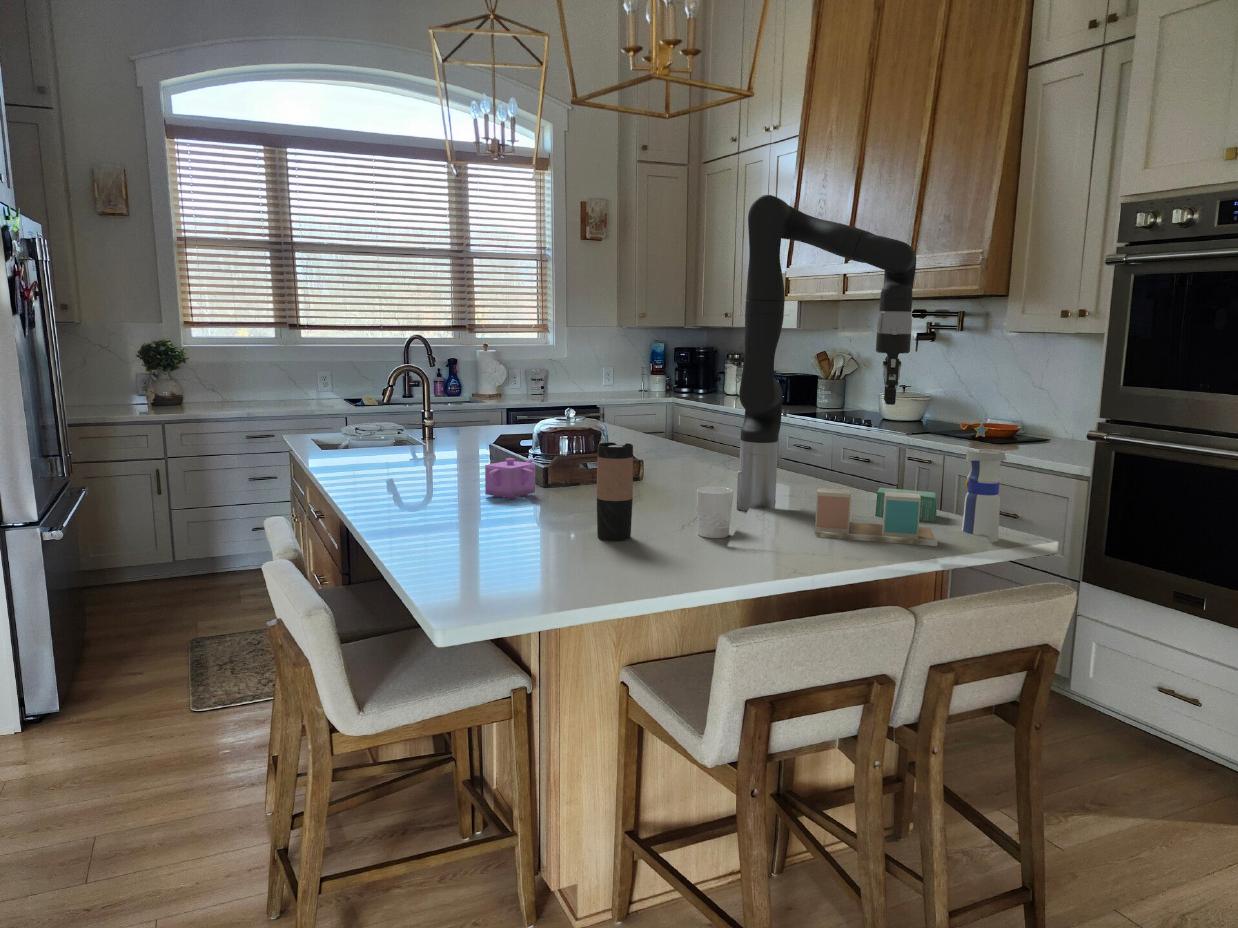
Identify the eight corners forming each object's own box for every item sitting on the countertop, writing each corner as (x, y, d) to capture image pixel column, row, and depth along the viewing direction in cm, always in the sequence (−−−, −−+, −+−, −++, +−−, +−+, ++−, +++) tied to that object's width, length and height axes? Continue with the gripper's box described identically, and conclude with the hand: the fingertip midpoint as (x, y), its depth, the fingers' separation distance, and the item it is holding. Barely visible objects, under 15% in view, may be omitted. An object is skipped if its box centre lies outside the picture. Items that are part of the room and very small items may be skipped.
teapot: (515, 488, 240) (514, 452, 238) (555, 494, 232) (555, 456, 231) (470, 498, 225) (470, 460, 223) (512, 505, 217) (512, 465, 216)
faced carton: (814, 533, 186) (817, 491, 184) (815, 527, 191) (818, 487, 189) (848, 535, 184) (851, 494, 183) (848, 530, 189) (851, 489, 187)
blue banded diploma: (949, 535, 192) (957, 423, 188) (978, 532, 196) (987, 422, 192) (977, 543, 185) (987, 427, 181) (1007, 540, 188) (1017, 426, 184)
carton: (882, 538, 182) (885, 496, 181) (882, 532, 187) (884, 491, 186) (917, 540, 181) (920, 498, 179) (916, 535, 185) (919, 493, 184)
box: (935, 528, 200) (937, 496, 198) (874, 522, 204) (876, 491, 203) (935, 521, 206) (937, 491, 205) (876, 517, 211) (878, 486, 210)
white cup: (734, 532, 192) (736, 488, 190) (727, 540, 184) (728, 494, 183) (700, 529, 194) (701, 485, 193) (691, 537, 187) (692, 491, 185)
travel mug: (606, 542, 181) (607, 447, 177) (590, 534, 187) (591, 443, 184) (638, 539, 184) (640, 446, 181) (621, 531, 191) (623, 441, 188)
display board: (816, 543, 183) (816, 532, 182) (819, 526, 199) (819, 515, 199) (936, 553, 177) (937, 541, 176) (929, 534, 193) (930, 523, 192)
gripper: (876, 331, 206) (871, 400, 208) (877, 331, 192) (873, 405, 195) (909, 332, 204) (904, 401, 206) (913, 332, 190) (908, 406, 193)
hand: (889, 403), depth 200 cm, fingers open, 8 cm apart
